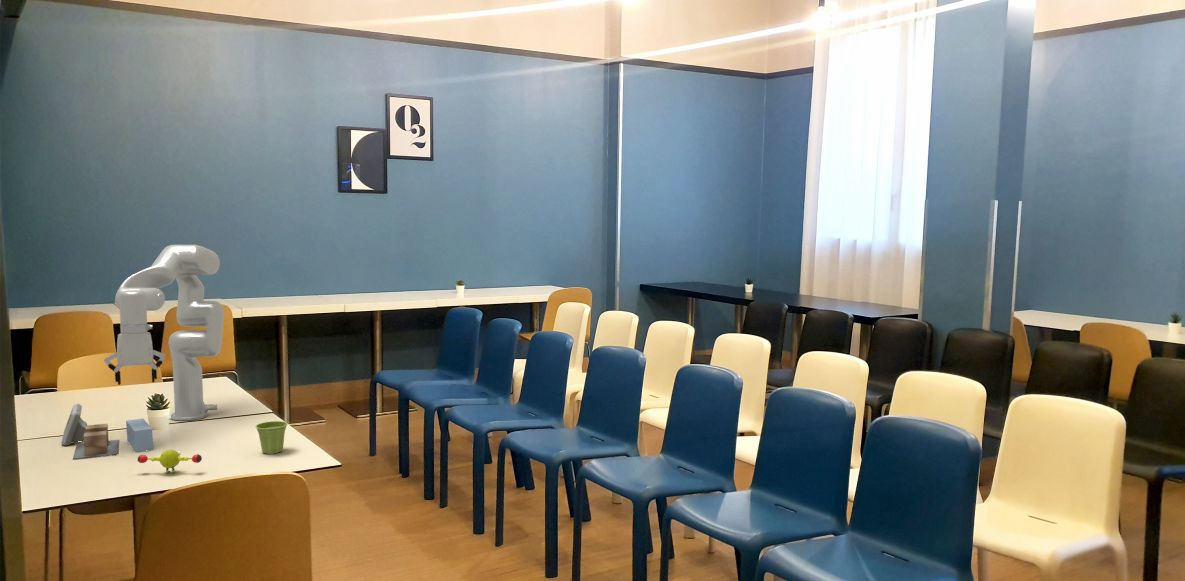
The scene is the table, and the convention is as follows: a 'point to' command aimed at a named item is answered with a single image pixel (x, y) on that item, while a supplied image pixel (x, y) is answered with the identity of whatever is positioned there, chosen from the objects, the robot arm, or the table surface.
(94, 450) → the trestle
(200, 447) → the table surface
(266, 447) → the plant pot
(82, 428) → the digital clock
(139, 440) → the lintel
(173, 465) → the toy figure
